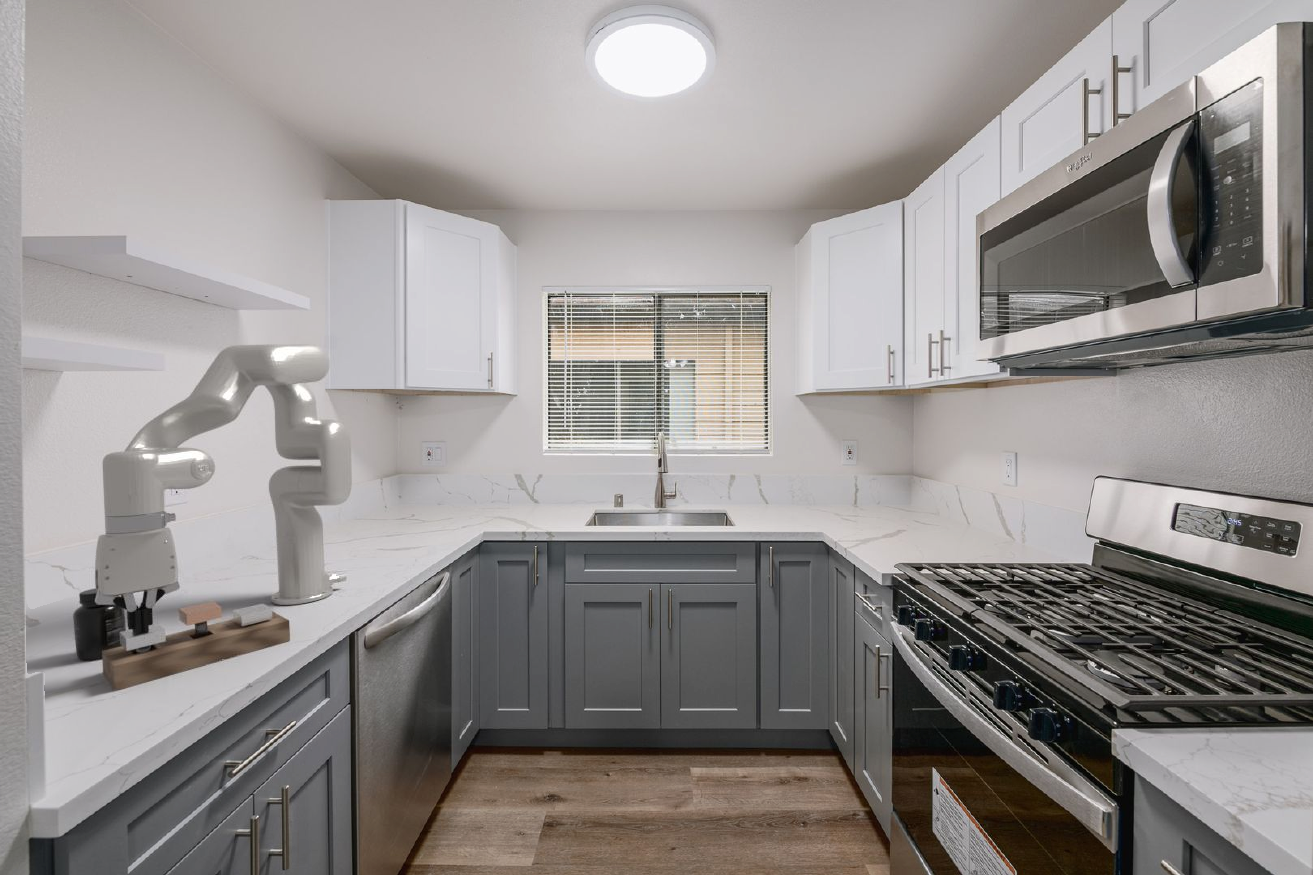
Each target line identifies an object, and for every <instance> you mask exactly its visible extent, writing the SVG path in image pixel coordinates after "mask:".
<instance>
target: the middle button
mask: <svg viewBox="0 0 1313 875" xmlns="http://www.w3.org/2000/svg"><path fill="white" fill-rule="evenodd" d="M178 613H179V614H178V616H179V618H178V619H179V621H180V622H182V623H184V625H185V626H187V627H188V626H193V625H194V629H195V639H197V638H201V637H205V636H208V628H207V625H208V622H209V621H212V620H217V619H220V618H222V616H223V615H222V614H223V613H222V606H221V605H220V604H218V603H216V602H215V601H207V602H204V603H199V604H194V605H190V606H186V607H181V608H178Z"/></svg>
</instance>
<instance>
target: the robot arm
mask: <svg viewBox="0 0 1313 875" xmlns="http://www.w3.org/2000/svg"><path fill="white" fill-rule="evenodd" d="M330 366H331V365H330V358H329V356H328V354H327V353H326V351H325V350H324V349H323V348H322V347H320V346H319V345H316V344H312V343H310V344H309V343H308V344H305V343H303V344H270V343H269V344H238V345H231V346H228V347H226V348H224V349H222V350H221V351H219V353H218V354H217V356H216V357H215V358H214V360H213V362H212V363H211V364H210V366H209V367H208V369H207V370H206V372H205V373H204V375H203V376H202V377H201V379H200V380H199V382H198V383H197V385H196V386H195V388H194V389H193V390H192V392H191V393H190V394H189V396H187V397H186V398H185V399H183V400H181V401H180V402H177V403H176V404H174V405H172V407H169V408H168V409H166V410H165V411H163V412H162V413H160V414H159V415H157V416H156V417H154V418H152V419H151V420H150V421H148V422H147V423H146V424H145V425H143V426H142V427H141V428H140V429H139V431H138V432H137V433H136V434H135V436H134V437H133V438H132V440H131V441H130V442H129V444H128V445H127V446H126V448H125V449H124V451H115V452H110V453H108V454H106V455H105V456H104V457H103V459H102V482H103V484H102V485H103V505H104V510H103V511H104V529H105V530H104V531H105V534H100V535H99V536H98V539H97V544H96V548H95V549H96V550H95V562H94V586H95V587H94V588H96V590H97V594H96V598H95V603H96V604H98V605H111V604H116V605H118V606H120V607H122V608H124V611H125V610H126V620H127V621H126V622H127V629H128V630H131V629H132V630H133V632H134V633H135V634H136V635H137V634H140V633H142V632H144V633H146V632H149V625H153V623H154V621H153V620H154V618H153V616H154V615H153V608H154V607H155V605H156V603H158V602H159V601H160V600H161V598H162V597H163V596H164V595H168V594H170V593H172V592H173V593H174V592H176V591H178V590H179V589H180V588H181V586H180V583H179V581H178V580H179V566H178V560H177V552H176V546H175V541H174V537H173V534H172V531H171V528H170V527H167V524H168V523H170V522H174V521H175V522H176V519H177V518H176V517H177V516H176V513H174V512H172V513H170V512H167V511H166V510H165V493H164V492H165V490H188V489H189V490H190V489H195V488H199V487H201V486H204V485H205V484H206V483H208V482H209V481H210V480H211V479H212V477H213V476H214V475H215V470H216V465H215V461H214V458H212V456H211V455H210V454H209V453H207V452H206V451H204V450H201V449H198V448H193V447H180V446H181V445H182V444H183V443H185V442H187V441H189V440H190V439H192V438H195V437H197V436H198V435H202V434H204V433H207V432H210V431H213V430H216V429H220V428H221V427H223V426H227V425H229V424H230V423H232V422H234V421H235V420H236V419H237V418H238V417H239V415H240V414H241V412H242V411H243V409H244V408H245V405H246V403H247V402H248V401H249V398H250V397H251V396H252V394H253V392H254V391H255V389H256V388H257V387H259V386H264V387H265V388H266V389H267V391H268V393H269V394H270V396H271V398H272V401H273V409H274V433H275V434H274V437H275V438H274V439H275V448H276V451H277V454H278V455H279V456H280V457H282V458H283V459H286V460H294V461H295V460H297V461H314V460H315V461H316V460H317V461H319V462H320V465H314V464H312V465H309V464H308V465H289V466H285V467H281V468H280V469H277V470H276V471H274V472H273V474H272V475H271V476H270V478H269V480H268V491H269V492H268V493H269V496H270V501H271V504H272V507H273V511H274V520H275V534H276V537H275V538H276V555H277V556H276V558H277V576H278V592H275V593H274V594H272V595H271V597H270V598H271V601H270V602H271V603H272V604H274V605H280V606H288V605H291V606H293V605H300V604H306V603H311V602H315V601H319V600H321V599H325V598H327V597H330V596H331V595H332V594H333V592H334V589H333V587H332V585H334V584H335V583H341V582H346V581H347V574H346V573H345V572H343V573H339V574H336V573H333V574H328V573H326V572H325V569H326V568H325V554H324V553H325V549H324V547H325V546H324V525H323V524H324V523H323V520H322V517H321V515H320V513H319V511H318V510H317V508H316V507H317V506H319V507H320V506H321V507H322V506H325V507H326V506H338V505H342V504H344V502H346V501H347V500H348V499H349V497H350V495H351V491H352V487H353V486H352V484H353V483H352V481H353V480H352V479H353V478H352V477H353V476H352V474H353V473H352V444H351V443H352V442H351V437H350V433H349V430H348V429H347V427H346V426H345V425H344V424H343V423H342V422H340V421H338V420H334V419H318V412H317V401H316V397H315V394H314V393H313V391H312V389H311V388H310V386H308V385H307V384H308V383H316V382H320V381H321V380H323V379H324V378H325V377H326V376H327V374H328V373H329V370H330ZM315 506H316V507H315ZM140 592H143V594H142V600H141V603H140V605H137V604H136V599H135V597H134V594H135V593H140Z"/></svg>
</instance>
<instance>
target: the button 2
mask: <svg viewBox="0 0 1313 875" xmlns="http://www.w3.org/2000/svg"><path fill="white" fill-rule="evenodd" d="M272 611H273V608H272V607H270V606H268V605H267V604H264V603H260V604H255V605H251V606H247V607H242V608H238V609H232V619H233V621H234V622H236V623H237V624H239V625H240V626H246V625H247V626H248V625H252V624H256V623H259V622H261V621H265V620H269V619H273V618H272Z"/></svg>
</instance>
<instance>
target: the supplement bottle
mask: <svg viewBox="0 0 1313 875" xmlns="http://www.w3.org/2000/svg"><path fill="white" fill-rule="evenodd" d="M96 594H97V590H96V587H94V588H91V589H86V590H83V591H81V592H79V593H78V596H79V602H78V603H79V604H80V605H81V606H79V607H78V608H77V609H75V611H74V612H73V614H72V617H73V618H72V619H73V631H74V633H73V634H74V640H75V641H74V645H75V654H76V658H77V660H79V661H83V662H86V661H87V662H89V661H96V660H101V659H102V651H104V650H108V649H112V648H117V647H121V646H122V645H121V644H120V632H123V631H127V626H126V615H125V614H126V612H125V609H124V608H122V607H120V606H118V605H116V604H111V605H98V604H96V603H95V598H96Z"/></svg>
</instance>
